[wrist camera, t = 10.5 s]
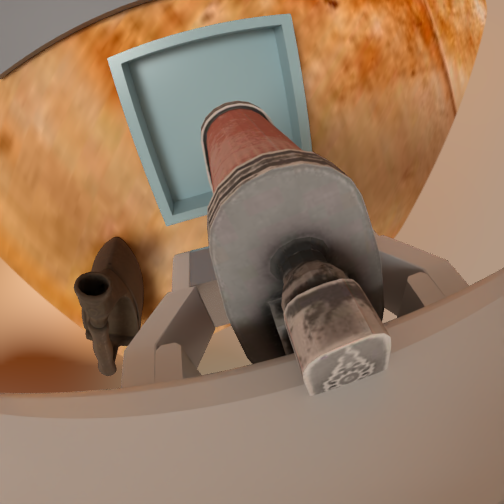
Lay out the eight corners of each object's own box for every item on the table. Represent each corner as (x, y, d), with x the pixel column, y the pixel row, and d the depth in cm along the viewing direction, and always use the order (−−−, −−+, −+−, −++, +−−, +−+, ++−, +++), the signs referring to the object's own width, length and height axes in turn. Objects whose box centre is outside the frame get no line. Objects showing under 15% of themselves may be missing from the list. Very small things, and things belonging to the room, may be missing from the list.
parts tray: (278, 18, 22) (290, 13, 19) (303, 172, 33) (315, 187, 30) (118, 58, 22) (107, 58, 18) (168, 207, 33) (166, 226, 30)
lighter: (181, 119, 10) (139, 372, 2) (267, 88, 10) (508, 226, 2) (248, 272, 15) (302, 477, 7) (312, 249, 15) (405, 437, 7)
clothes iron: (151, 221, 34) (137, 305, 23) (142, 311, 42) (137, 390, 32) (88, 213, 31) (51, 292, 21) (93, 304, 40) (77, 381, 29)
